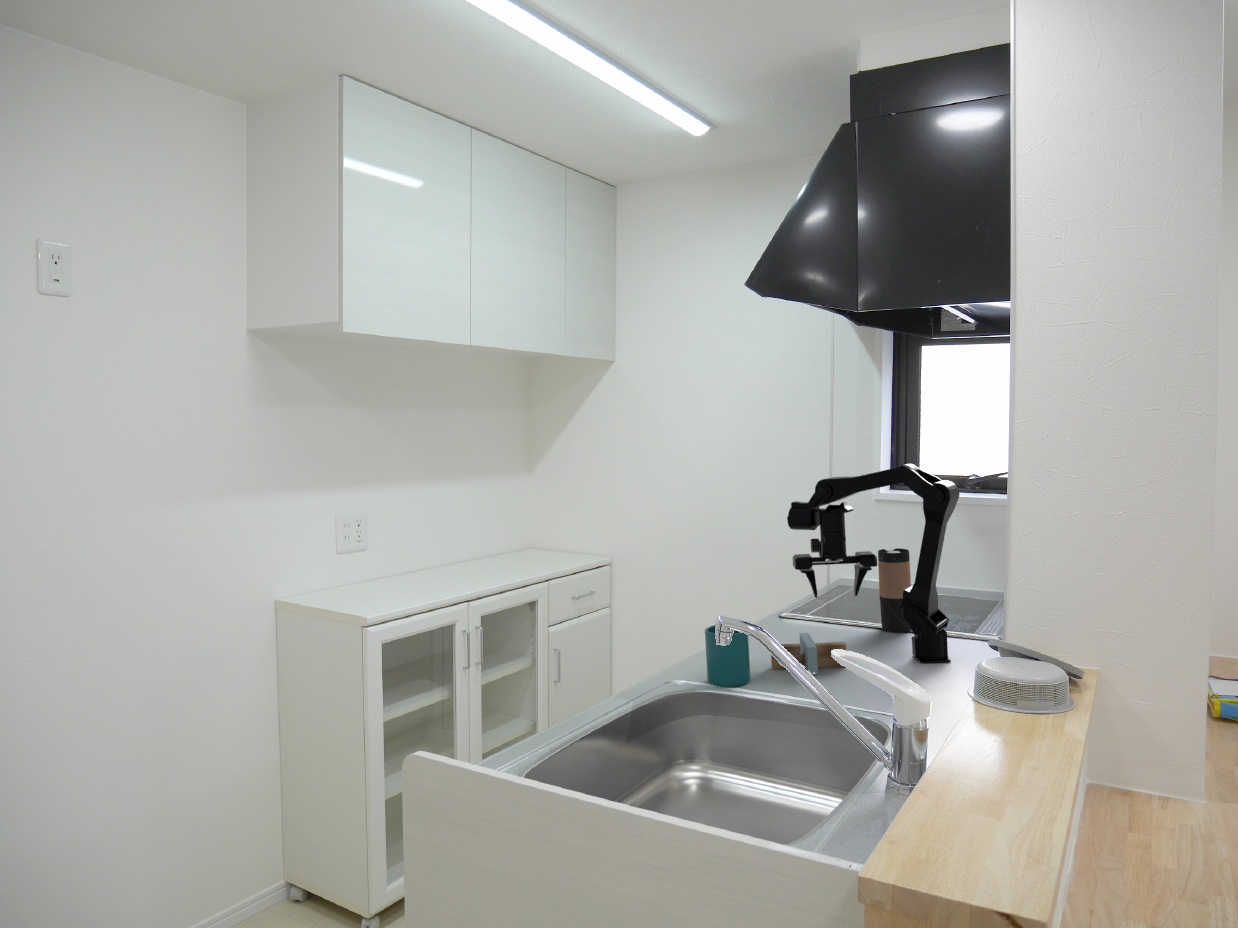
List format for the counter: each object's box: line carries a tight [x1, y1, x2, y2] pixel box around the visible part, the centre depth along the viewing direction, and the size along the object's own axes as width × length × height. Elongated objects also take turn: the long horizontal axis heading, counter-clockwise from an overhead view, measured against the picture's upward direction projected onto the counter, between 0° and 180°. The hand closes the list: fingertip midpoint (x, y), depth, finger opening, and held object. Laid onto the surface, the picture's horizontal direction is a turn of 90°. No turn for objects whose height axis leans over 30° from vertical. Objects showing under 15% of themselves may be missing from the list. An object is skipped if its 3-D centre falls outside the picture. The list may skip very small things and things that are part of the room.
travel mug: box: [877, 547, 912, 634], centre depth 206 cm, size 8×8×20 cm
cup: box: [704, 624, 751, 688], centre depth 174 cm, size 9×12×11 cm
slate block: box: [799, 632, 819, 675], centre depth 180 cm, size 12×2×6 cm, turn 175°
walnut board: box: [770, 641, 847, 671], centre depth 180 cm, size 16×2×5 cm, turn 85°
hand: (835, 596), depth 194 cm, fingers open, 9 cm apart
